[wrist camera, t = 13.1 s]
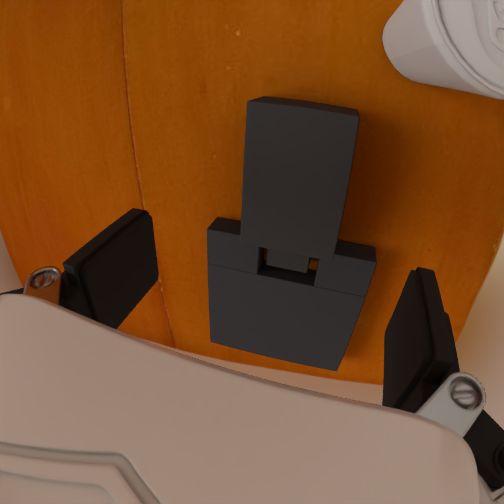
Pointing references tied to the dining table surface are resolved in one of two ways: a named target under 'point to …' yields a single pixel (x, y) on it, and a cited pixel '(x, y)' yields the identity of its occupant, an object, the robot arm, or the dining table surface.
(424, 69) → the beverage can
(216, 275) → the base pad
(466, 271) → the dining table surface
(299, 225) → the pad
